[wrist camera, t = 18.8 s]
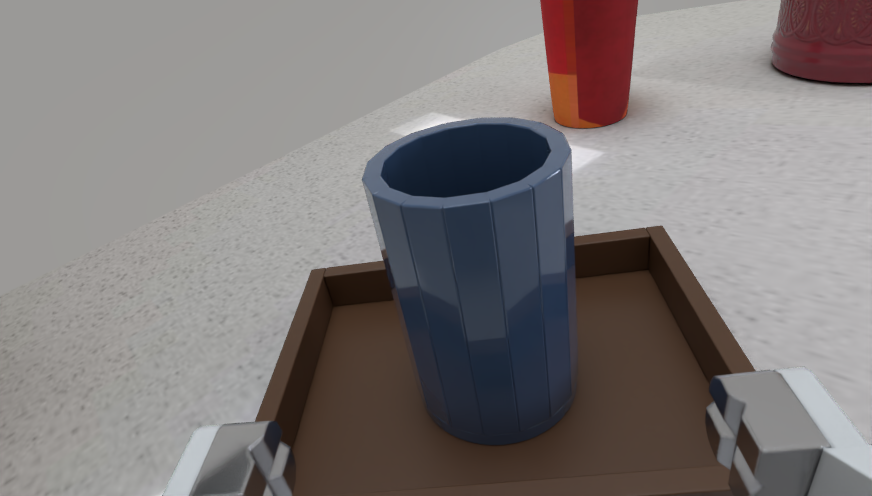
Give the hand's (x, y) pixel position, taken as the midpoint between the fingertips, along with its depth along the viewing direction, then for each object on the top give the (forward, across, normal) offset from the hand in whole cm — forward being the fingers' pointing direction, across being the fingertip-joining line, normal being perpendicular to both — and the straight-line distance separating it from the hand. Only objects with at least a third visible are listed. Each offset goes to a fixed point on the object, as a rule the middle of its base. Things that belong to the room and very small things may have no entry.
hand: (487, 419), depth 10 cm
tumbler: (+9, 0, +8) cm, 12 cm away
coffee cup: (+38, -10, +9) cm, 40 cm away
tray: (+9, 0, +9) cm, 13 cm away
